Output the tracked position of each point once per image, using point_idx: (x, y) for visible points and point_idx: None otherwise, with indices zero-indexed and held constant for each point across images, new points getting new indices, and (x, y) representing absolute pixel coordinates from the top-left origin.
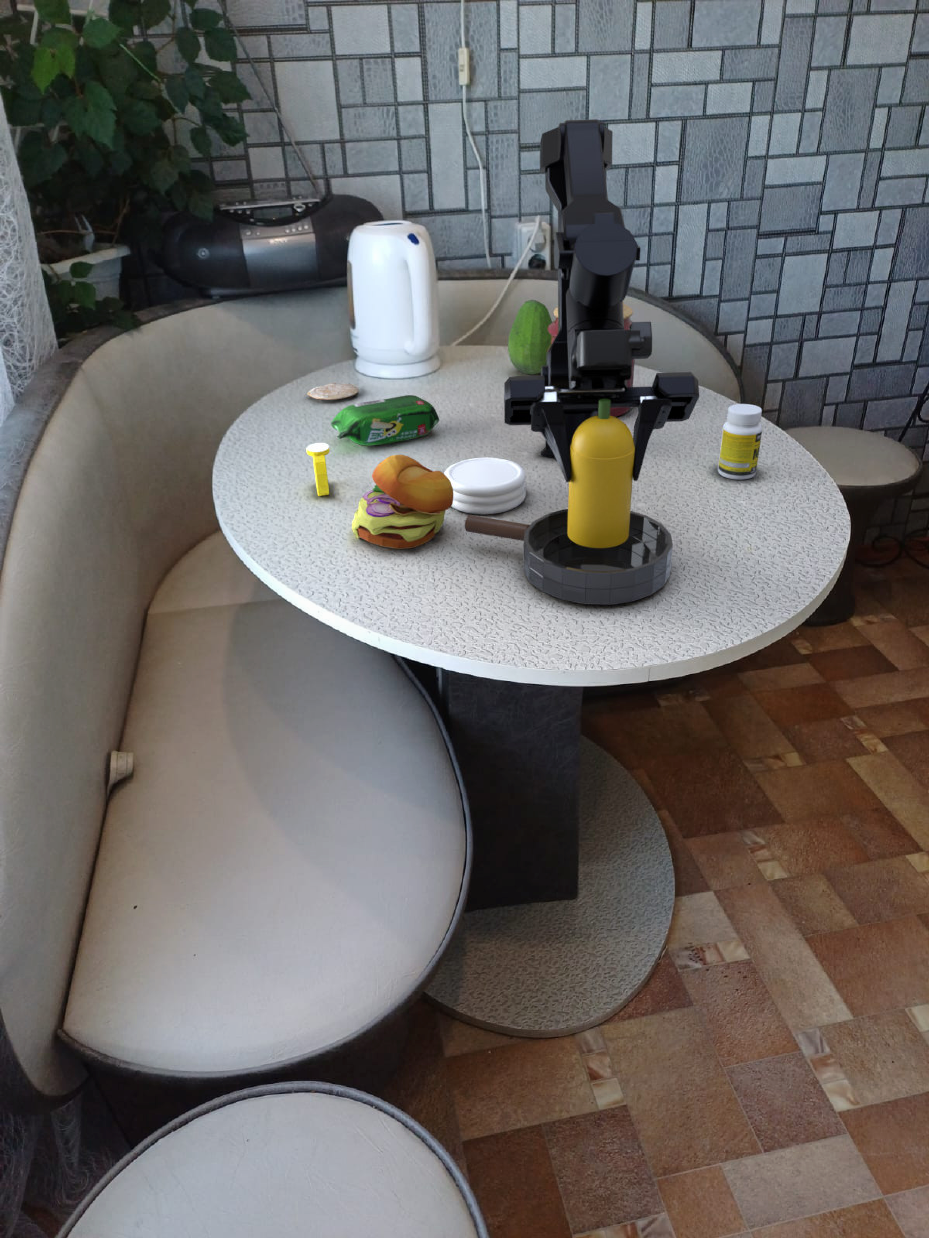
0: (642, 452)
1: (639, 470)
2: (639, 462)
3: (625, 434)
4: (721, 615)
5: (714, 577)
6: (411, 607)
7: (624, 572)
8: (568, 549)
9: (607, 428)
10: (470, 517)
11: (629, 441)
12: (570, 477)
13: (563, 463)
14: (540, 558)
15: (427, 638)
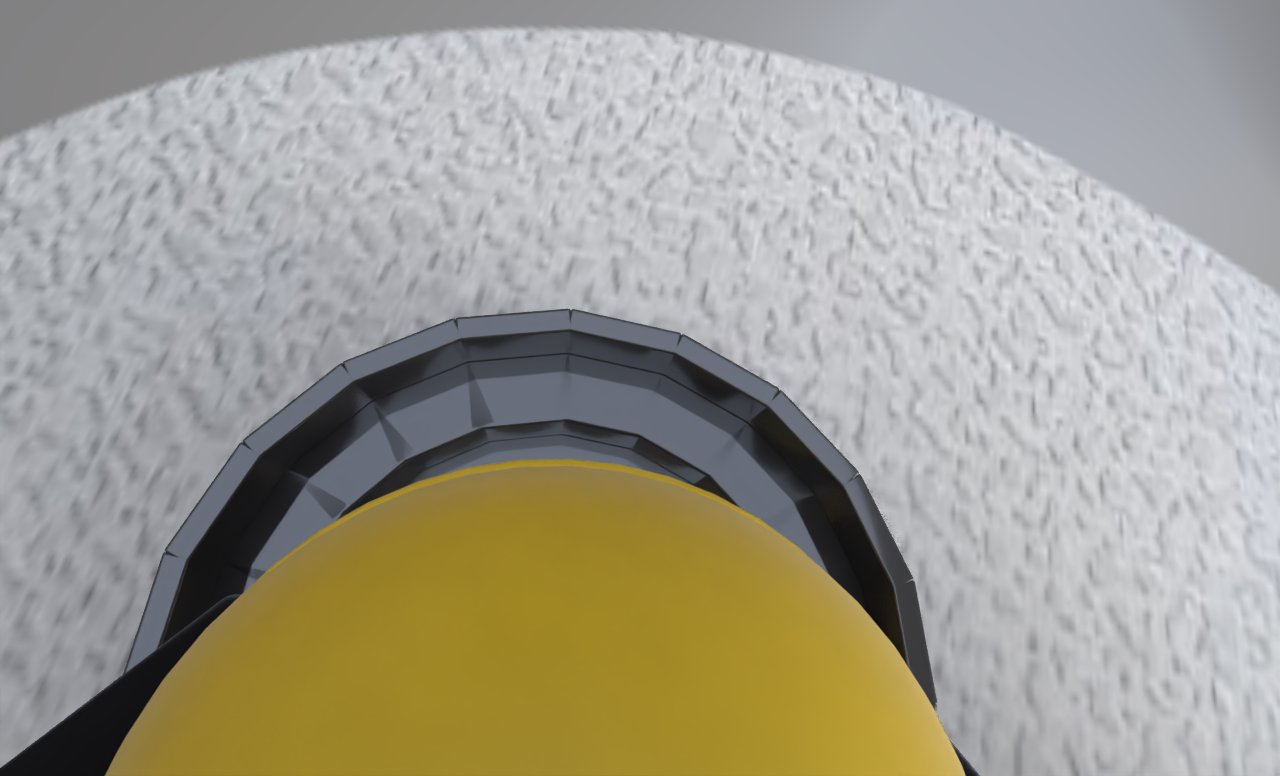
0: (41, 767)
1: (197, 622)
2: (151, 686)
3: (225, 669)
4: (149, 246)
5: (27, 545)
6: (1272, 491)
7: (506, 315)
8: None
9: (561, 676)
10: None
11: (199, 640)
12: None
13: (967, 767)
14: (870, 503)
15: (1197, 285)
